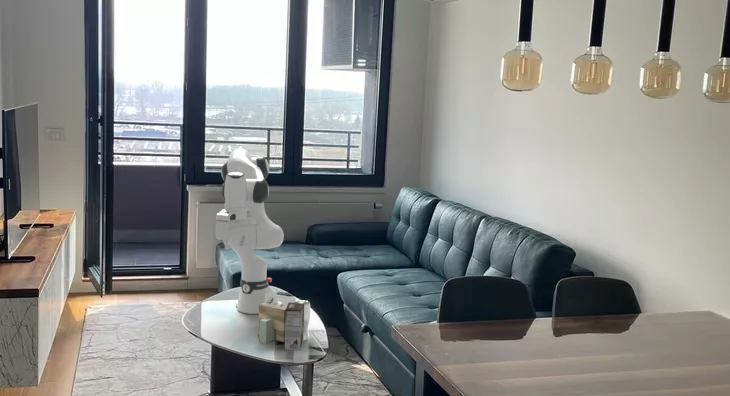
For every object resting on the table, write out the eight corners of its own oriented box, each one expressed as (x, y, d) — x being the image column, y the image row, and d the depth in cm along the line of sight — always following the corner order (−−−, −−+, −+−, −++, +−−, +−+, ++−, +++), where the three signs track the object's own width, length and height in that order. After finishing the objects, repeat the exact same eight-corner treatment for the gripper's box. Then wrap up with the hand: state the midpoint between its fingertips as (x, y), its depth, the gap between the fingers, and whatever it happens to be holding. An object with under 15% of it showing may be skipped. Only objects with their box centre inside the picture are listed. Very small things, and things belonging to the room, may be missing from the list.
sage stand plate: (279, 332, 283) (279, 311, 281) (285, 334, 281) (286, 312, 280) (259, 342, 270) (259, 320, 269) (265, 343, 269) (266, 321, 268)
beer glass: (306, 343, 272) (307, 306, 270) (289, 341, 273) (290, 304, 271) (311, 337, 278) (312, 301, 276) (295, 335, 280) (295, 299, 278)
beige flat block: (262, 334, 280) (263, 303, 278) (287, 339, 274) (288, 308, 273) (258, 336, 277) (258, 304, 275) (283, 342, 272) (284, 310, 270)
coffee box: (287, 341, 272) (288, 302, 270) (303, 342, 272) (304, 302, 270) (284, 349, 263) (285, 308, 261) (300, 350, 263) (302, 309, 261)
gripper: (244, 209, 285) (244, 242, 286) (212, 215, 267) (212, 250, 268) (257, 211, 282) (256, 244, 284) (225, 217, 264) (225, 253, 266)
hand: (235, 247), depth 276 cm, fingers open, 8 cm apart
